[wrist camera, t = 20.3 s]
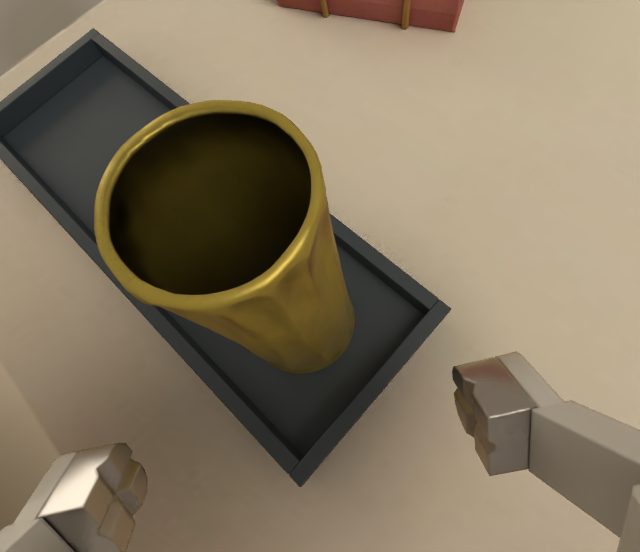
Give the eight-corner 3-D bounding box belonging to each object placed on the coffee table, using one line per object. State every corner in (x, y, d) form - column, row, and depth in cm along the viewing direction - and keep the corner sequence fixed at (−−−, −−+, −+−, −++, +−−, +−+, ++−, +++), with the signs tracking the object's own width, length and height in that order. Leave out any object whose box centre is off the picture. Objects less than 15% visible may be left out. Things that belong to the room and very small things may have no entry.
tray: (442, 317, 22) (451, 308, 19) (306, 477, 20) (300, 488, 18) (111, 53, 31) (93, 27, 29) (-2, 145, 29) (-31, 125, 27)
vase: (246, 280, 23) (77, 110, 9) (344, 261, 22) (320, 58, 9) (256, 382, 21) (63, 358, 7) (364, 363, 20) (372, 301, 7)
